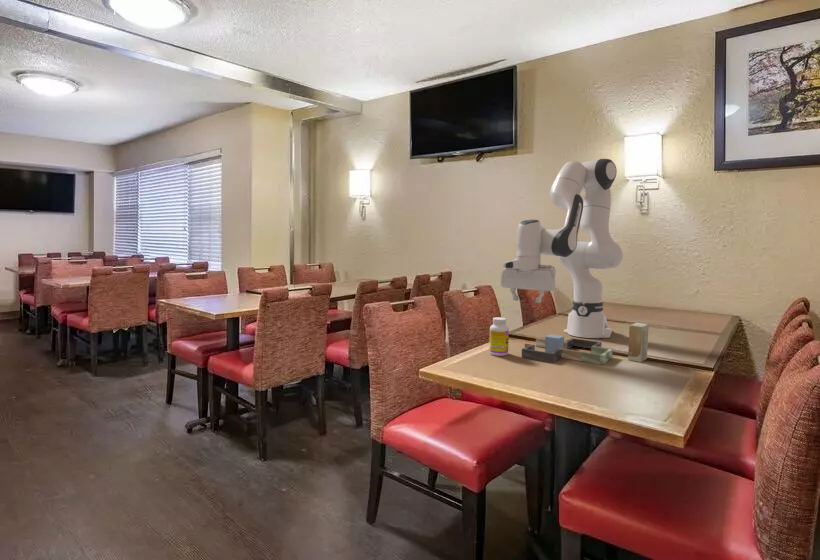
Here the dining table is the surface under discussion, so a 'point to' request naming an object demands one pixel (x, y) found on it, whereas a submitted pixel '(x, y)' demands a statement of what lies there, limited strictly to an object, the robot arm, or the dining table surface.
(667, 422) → the dining table surface
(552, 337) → the block
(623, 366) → the dining table surface
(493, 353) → the supplement bottle
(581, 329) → the robot arm
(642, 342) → the skincare box
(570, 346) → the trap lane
